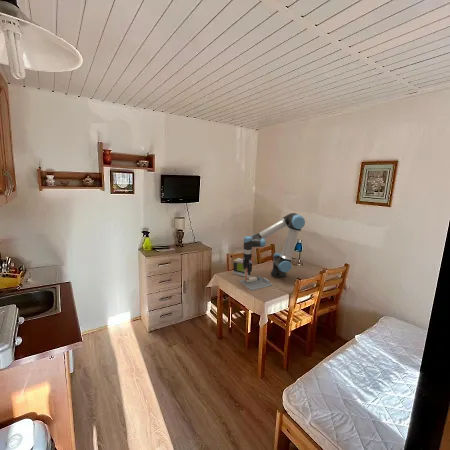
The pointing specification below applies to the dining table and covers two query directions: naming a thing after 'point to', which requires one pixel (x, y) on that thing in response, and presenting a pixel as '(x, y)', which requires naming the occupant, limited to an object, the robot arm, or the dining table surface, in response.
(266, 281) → the stop block
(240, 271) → the tea box
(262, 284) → the felt mat
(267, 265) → the dining table surface
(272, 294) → the dining table surface
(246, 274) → the leg
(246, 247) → the robot arm
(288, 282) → the dining table surface
